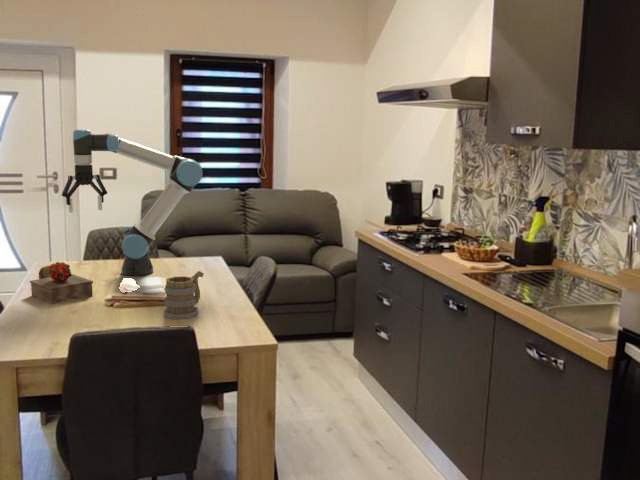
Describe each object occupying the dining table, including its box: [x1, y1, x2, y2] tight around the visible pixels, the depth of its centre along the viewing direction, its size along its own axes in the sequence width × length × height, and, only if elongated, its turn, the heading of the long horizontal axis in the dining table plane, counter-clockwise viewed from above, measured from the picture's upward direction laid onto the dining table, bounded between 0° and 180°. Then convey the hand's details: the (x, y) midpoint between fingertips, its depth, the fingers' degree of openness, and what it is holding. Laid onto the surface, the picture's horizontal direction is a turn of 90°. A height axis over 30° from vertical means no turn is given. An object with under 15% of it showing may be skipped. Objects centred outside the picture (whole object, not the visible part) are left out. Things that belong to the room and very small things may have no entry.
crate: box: [29, 273, 94, 305], centre depth 277 cm, size 19×19×7 cm
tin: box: [38, 262, 57, 279], centre depth 299 cm, size 15×3×8 cm, turn 168°
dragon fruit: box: [49, 261, 73, 282], centre depth 276 cm, size 8×8×12 cm
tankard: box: [163, 270, 204, 320], centre depth 255 cm, size 20×13×15 cm, turn 148°
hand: (85, 211), depth 298 cm, fingers open, 13 cm apart
